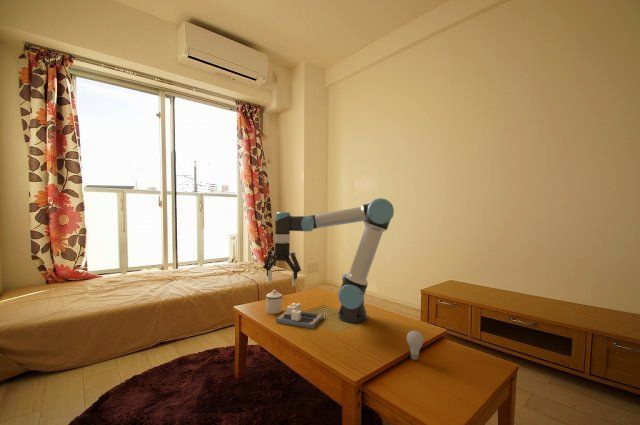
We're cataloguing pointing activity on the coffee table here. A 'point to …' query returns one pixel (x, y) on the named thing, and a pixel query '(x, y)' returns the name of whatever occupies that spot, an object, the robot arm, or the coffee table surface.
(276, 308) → the teacup with lid
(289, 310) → the breaker
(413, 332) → the lightbulb
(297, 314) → the breaker
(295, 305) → the breaker
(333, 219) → the robot arm
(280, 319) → the panel
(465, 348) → the coffee table surface
